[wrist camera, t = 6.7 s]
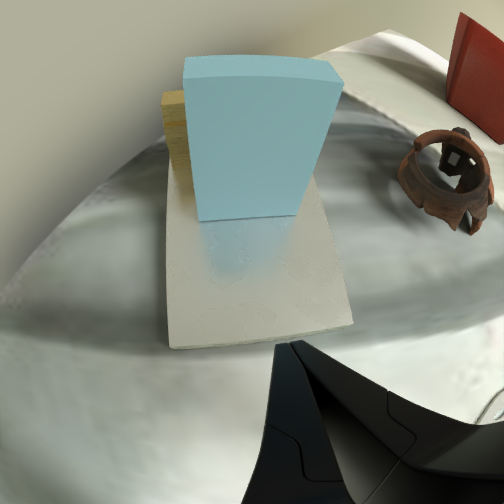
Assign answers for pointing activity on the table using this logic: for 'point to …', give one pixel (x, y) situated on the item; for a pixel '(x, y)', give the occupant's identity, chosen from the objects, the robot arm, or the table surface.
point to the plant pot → (477, 77)
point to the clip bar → (256, 131)
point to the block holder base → (244, 264)
